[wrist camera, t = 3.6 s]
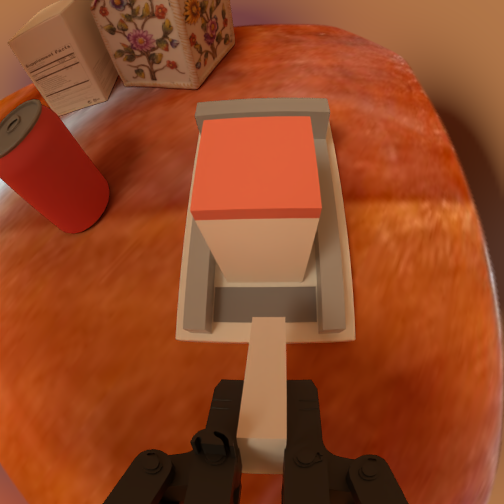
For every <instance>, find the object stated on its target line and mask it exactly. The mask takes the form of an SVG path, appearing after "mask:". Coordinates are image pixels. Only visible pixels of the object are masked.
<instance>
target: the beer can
mask: <svg viewBox="0 0 504 504" xmlns="http://www.w3.org/2000/svg"><path fill="white" fill-rule="evenodd" d="M0 178H1V179H2V180H3V181H4V182H5V183H6V184H7V185H9V186H10V187H11V188H12V189H13V190H14V191H15V192H16V193H17V194H19V195H20V196H21V197H22V198H23V199H24V200H26V201H27V202H28V203H29V204H30V205H31V206H33V207H34V208H35V209H36V210H37V211H38V212H40V213H41V214H42V215H43V216H44V217H46V218H47V219H48V220H49V221H51V222H52V223H53V224H54V225H56V226H57V227H58V228H59V229H61V230H62V231H63V232H65V233H72V234H74V233H78V232H82V231H84V230H86V229H87V228H89V227H91V226H92V225H93V224H94V223H95V222H96V221H97V220H98V219H99V218H100V216H101V215H102V213H103V212H104V211H105V208H106V205H107V203H108V200H109V192H110V191H109V186H108V182H107V181H106V179H105V178H104V177H103V176H102V174H101V173H100V172H99V170H98V169H97V168H96V167H95V165H94V164H93V163H92V161H91V160H90V159H89V157H88V156H87V155H86V153H85V152H84V151H83V149H82V148H81V147H80V145H79V144H78V143H77V141H76V140H75V139H74V137H73V136H72V134H71V133H70V132H69V130H68V129H67V128H66V126H65V125H64V123H63V122H62V121H61V119H60V118H59V116H58V115H57V114H56V113H55V112H54V111H53V110H51V109H50V108H48V107H46V106H44V105H42V104H41V102H40V101H39V100H36V99H32V100H29V101H26V102H24V103H22V104H21V105H19V106H18V107H16V108H15V109H14V110H13V111H11V112H10V113H9V114H8V115H7V116H6V117H5V118H4V119H3V120H2V122H1V123H0Z"/></svg>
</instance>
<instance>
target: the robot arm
mask: <svg viewBox="0 0 504 504" xmlns="http://www.w3.org/2000/svg"><path fill="white" fill-rule="evenodd" d="M190 442H191V445H192V447H193V450H192V451H190V452H188V453H183V454H176V455H167V454H166V453H164V452H162V451H160V450H155V449H152V450H146V451H144V452H141V453H140V454H139V455H138V456H137V457H136V458H135V459H134V461H133V462H132V463H131V465H130V466H129V468H128V469H127V471H126V472H125V473H124V475H123V476H122V478H121V479H120V480H119V482H118V483H117V485H116V486H115V487H114V489H113V490H112V492H111V493H110V494H109V496H108V497H107V499H106V500H105V501H104V503H103V504H240V495H241V473H253V474H283V483H282V493H281V494H282V502H281V504H408V502H407V500H406V498H405V496H404V494H403V492H402V490H401V488H400V486H399V485H398V483H397V481H396V479H395V477H394V475H393V473H392V471H391V469H390V467H389V465H388V464H387V463H386V461H385V460H384V459H383V458H381V457H379V456H377V455H370V454H369V455H363V456H361V457H359V458H357V459H355V460H354V459H348V458H343V457H339V456H335V455H333V454H332V453H330V452H329V451H328V450H327V449H326V448H325V446H324V444H323V440H322V431H321V420H320V410H319V402H318V391H317V388H316V386H315V385H314V383H313V382H312V380H286V328H285V317H252V325H251V333H250V340H249V348H248V356H247V363H246V371H245V378H244V380H223V379H222V380H221V381H220V383H219V384H218V385H217V386H216V387H215V389H214V394H213V398H212V403H211V408H210V411H209V416H208V420H207V424H206V429H203V430H201V431H199V432H197V433H196V434H195V435H194V436H193V438H192V440H191V441H190Z"/></svg>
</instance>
